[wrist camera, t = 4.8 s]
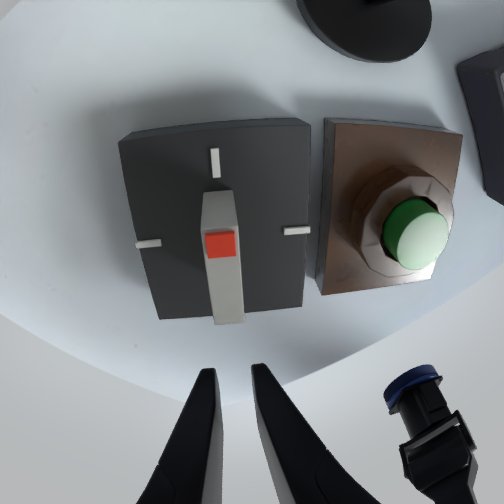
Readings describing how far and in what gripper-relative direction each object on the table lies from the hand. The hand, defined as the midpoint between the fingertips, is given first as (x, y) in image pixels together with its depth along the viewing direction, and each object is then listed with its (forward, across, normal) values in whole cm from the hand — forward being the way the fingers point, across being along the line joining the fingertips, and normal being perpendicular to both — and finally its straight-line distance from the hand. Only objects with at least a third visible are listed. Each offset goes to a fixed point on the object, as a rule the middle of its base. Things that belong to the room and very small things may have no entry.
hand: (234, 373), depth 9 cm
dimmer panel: (+11, 0, 0) cm, 11 cm away
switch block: (+11, -10, 0) cm, 15 cm away
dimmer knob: (+9, 0, 0) cm, 9 cm away
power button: (+8, -10, 0) cm, 13 cm away
